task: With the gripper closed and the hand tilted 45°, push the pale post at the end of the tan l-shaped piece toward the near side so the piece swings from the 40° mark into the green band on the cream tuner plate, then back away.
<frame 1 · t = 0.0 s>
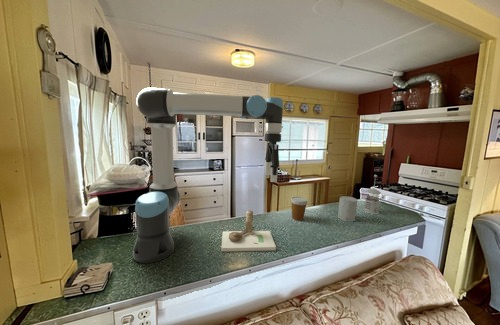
hand: (270, 178, 95), 28 cm above the kitchen counter, tool pointing down, fingers open, 13 cm apart
grey cylinder: (346, 218, 121), on the kitchen counter
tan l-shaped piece: (242, 224, 93), point 7 cm above the kitchen counter, hinge at 40.0°
disposable coffee cup: (297, 218, 118), on the kitchen counter
french press: (371, 212, 132), on the kitchen counter
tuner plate: (247, 241, 91), on the kitchen counter
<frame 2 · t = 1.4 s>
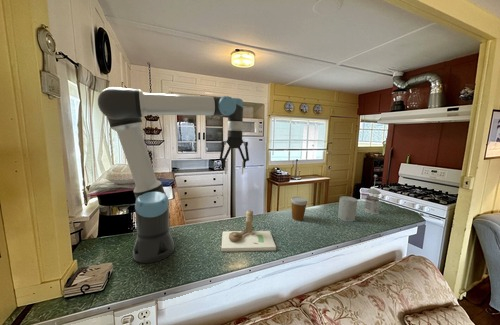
hand: (234, 173, 106), 27 cm above the kitchen counter, tool pointing down, fingers open, 8 cm apart
nothing on the kitchen counter moved.
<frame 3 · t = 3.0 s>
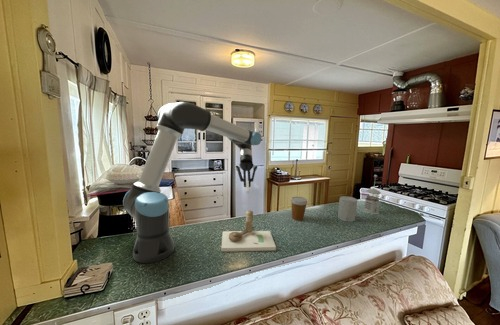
hand: (247, 191, 110), 17 cm above the kitchen counter, tool tilted 45°, fingers closed
nothing on the kitchen counter moved.
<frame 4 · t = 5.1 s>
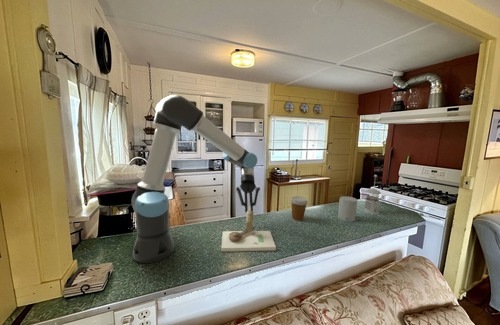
hand: (249, 218, 98), 7 cm above the kitchen counter, tool tilted 45°, fingers closed
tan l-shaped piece: (243, 224, 93), point 7 cm above the kitchen counter, hinge at 38.3°, touching gripper
everything else where it was.
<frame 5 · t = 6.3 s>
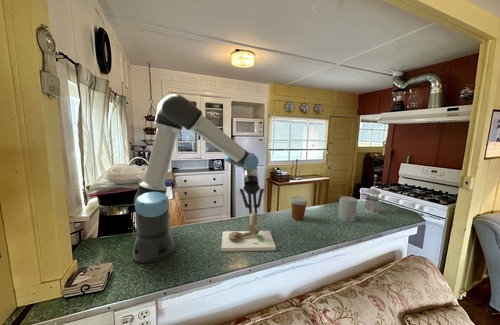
hand: (253, 220, 96), 8 cm above the kitchen counter, tool tilted 45°, fingers closed
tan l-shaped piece: (244, 225, 91), point 7 cm above the kitchen counter, hinge at 17.3°, touching gripper
everything else where it was.
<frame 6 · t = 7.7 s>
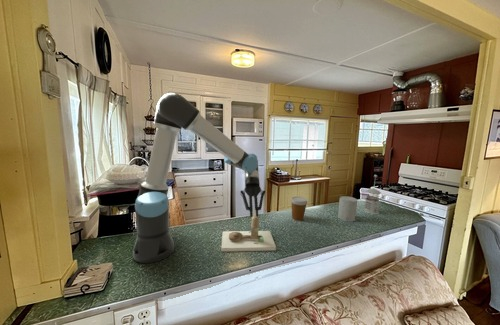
hand: (254, 224, 92), 8 cm above the kitchen counter, tool tilted 45°, fingers closed
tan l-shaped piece: (245, 227, 90), point 7 cm above the kitchen counter, hinge at -6.6°, touching gripper
everything else where it was.
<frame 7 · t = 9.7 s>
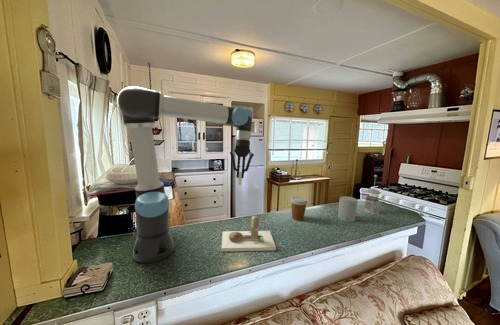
hand: (239, 184, 106), 22 cm above the kitchen counter, tool pointing down, fingers closed
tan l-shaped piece: (245, 227, 90), point 7 cm above the kitchen counter, hinge at -6.6°
everything else where it was.
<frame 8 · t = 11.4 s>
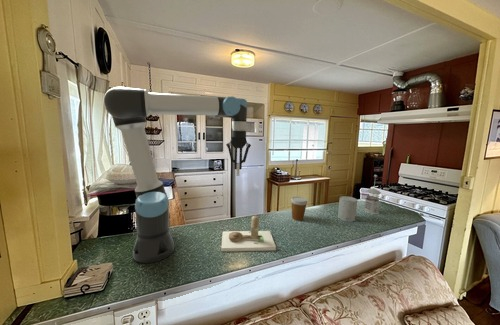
hand: (237, 175, 106), 26 cm above the kitchen counter, tool pointing down, fingers closed
nothing on the kitchen counter moved.
at the end: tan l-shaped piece at -7° (first picture: +40°); disposable coffee cup moved 0.2 cm from its start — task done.
